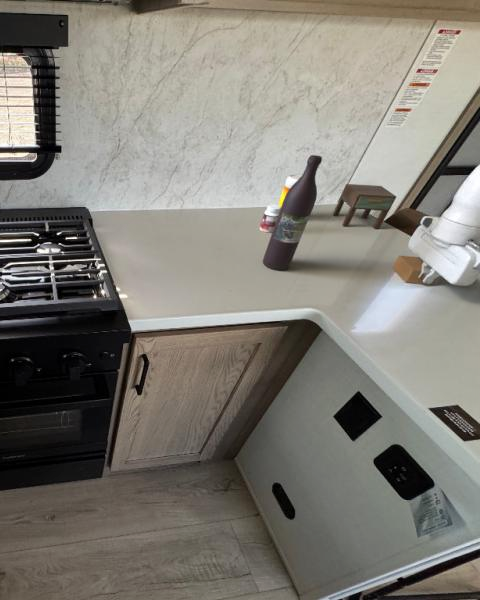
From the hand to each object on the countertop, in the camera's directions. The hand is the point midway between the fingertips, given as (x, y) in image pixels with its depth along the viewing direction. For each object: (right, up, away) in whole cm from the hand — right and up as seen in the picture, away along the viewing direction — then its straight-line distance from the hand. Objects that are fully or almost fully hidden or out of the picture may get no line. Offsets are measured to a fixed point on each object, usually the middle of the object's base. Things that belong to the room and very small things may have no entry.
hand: (424, 280), depth 89 cm
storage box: (+1, +2, +5) cm, 6 cm away
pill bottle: (-24, +19, +30) cm, 43 cm away
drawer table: (+10, +23, +35) cm, 43 cm away
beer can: (-14, +25, +38) cm, 48 cm away
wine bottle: (-32, +5, +11) cm, 35 cm away
